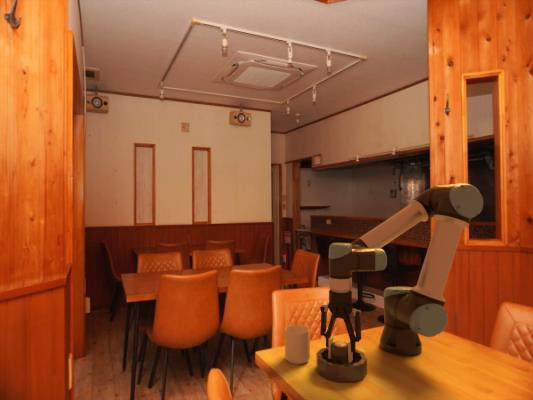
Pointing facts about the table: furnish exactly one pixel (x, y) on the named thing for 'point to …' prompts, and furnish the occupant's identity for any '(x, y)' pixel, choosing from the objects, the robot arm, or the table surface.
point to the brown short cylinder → (339, 352)
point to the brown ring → (341, 367)
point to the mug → (297, 344)
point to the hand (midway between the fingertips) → (340, 359)
